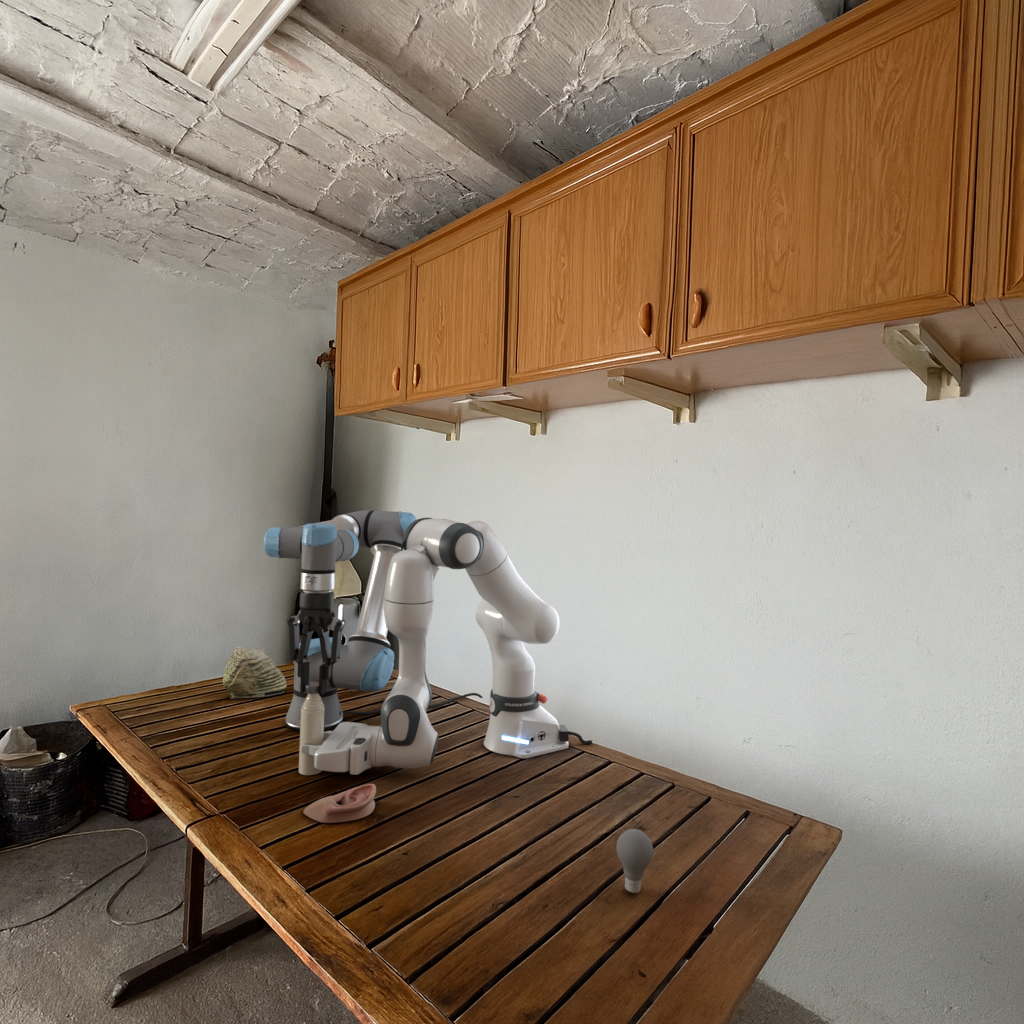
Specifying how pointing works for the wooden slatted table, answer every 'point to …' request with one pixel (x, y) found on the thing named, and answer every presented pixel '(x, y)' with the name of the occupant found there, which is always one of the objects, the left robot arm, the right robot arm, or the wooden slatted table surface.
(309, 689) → the cap
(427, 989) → the wooden slatted table surface
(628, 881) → the light bulb
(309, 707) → the bottle
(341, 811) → the anatomical model
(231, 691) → the fossil
